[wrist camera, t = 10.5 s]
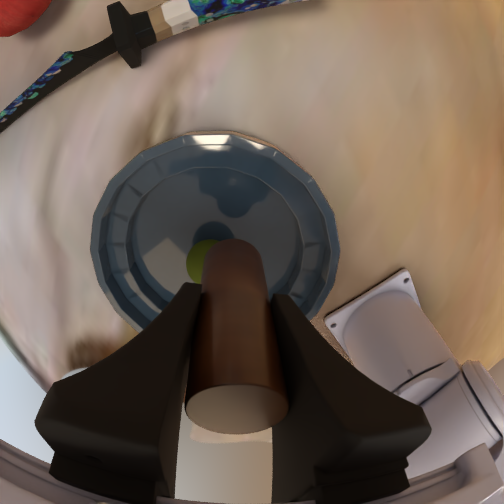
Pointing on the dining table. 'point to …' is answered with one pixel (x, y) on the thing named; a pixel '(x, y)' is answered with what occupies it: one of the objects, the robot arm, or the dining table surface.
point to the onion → (19, 14)
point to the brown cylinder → (235, 346)
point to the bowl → (211, 221)
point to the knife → (130, 41)
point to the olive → (198, 258)
